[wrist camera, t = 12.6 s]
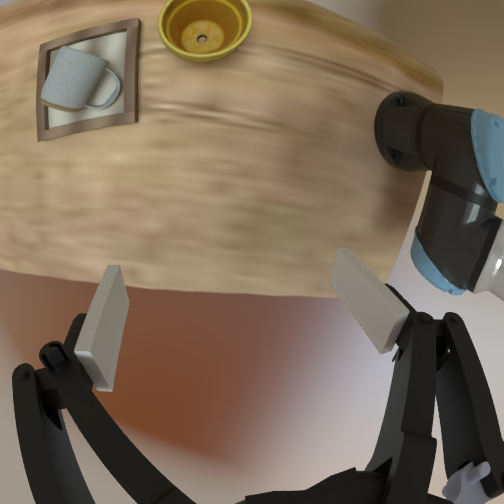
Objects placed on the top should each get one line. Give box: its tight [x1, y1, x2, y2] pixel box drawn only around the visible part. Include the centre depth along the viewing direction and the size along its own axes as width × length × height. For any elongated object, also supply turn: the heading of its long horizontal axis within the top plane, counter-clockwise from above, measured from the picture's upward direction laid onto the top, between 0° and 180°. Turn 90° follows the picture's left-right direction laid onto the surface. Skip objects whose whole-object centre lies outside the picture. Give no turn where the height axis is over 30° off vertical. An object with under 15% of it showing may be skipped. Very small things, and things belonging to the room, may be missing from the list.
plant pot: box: [158, 0, 253, 62], centre depth 25 cm, size 10×10×10 cm
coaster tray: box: [36, 18, 141, 142], centre depth 27 cm, size 16×16×2 cm
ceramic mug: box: [41, 46, 120, 113], centre depth 24 cm, size 11×8×8 cm
